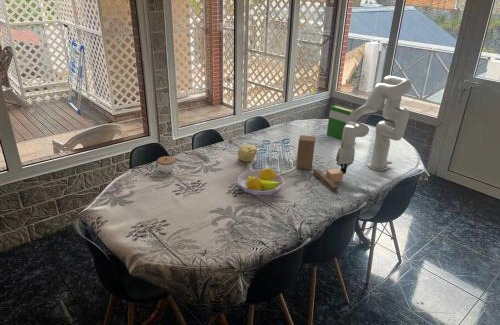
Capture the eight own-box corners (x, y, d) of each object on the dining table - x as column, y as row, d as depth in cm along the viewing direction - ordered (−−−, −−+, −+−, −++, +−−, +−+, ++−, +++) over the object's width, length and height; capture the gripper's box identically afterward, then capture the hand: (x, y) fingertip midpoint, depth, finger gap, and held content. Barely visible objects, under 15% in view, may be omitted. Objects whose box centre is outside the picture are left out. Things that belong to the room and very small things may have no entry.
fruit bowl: (230, 182, 215) (230, 165, 210) (271, 175, 225) (272, 159, 220) (248, 206, 192) (249, 187, 187) (293, 197, 202) (295, 179, 197)
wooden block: (311, 170, 234) (314, 141, 226) (295, 168, 236) (298, 139, 227) (312, 164, 243) (315, 136, 235) (297, 162, 245) (300, 134, 236)
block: (336, 177, 227) (338, 168, 224) (341, 181, 222) (343, 172, 219) (325, 178, 224) (326, 169, 222) (330, 183, 219) (331, 174, 217)
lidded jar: (179, 171, 226) (178, 157, 222) (164, 176, 218) (163, 162, 214) (169, 165, 232) (168, 152, 228) (154, 170, 225) (153, 157, 221)
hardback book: (350, 139, 288) (355, 109, 278) (345, 141, 284) (349, 111, 274) (332, 133, 300) (336, 104, 290) (326, 134, 295) (330, 106, 285)
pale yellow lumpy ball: (245, 165, 237) (246, 149, 233) (234, 159, 245) (234, 144, 241) (258, 160, 244) (259, 145, 240) (247, 155, 252) (247, 140, 248)
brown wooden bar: (318, 173, 231) (318, 168, 230) (337, 191, 211) (338, 186, 209) (313, 173, 230) (314, 169, 229) (332, 191, 210) (333, 187, 208)
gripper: (355, 142, 221) (350, 169, 229) (333, 144, 216) (329, 171, 224) (362, 146, 214) (357, 174, 222) (339, 148, 210) (335, 177, 218)
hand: (343, 173), depth 223 cm, fingers closed
